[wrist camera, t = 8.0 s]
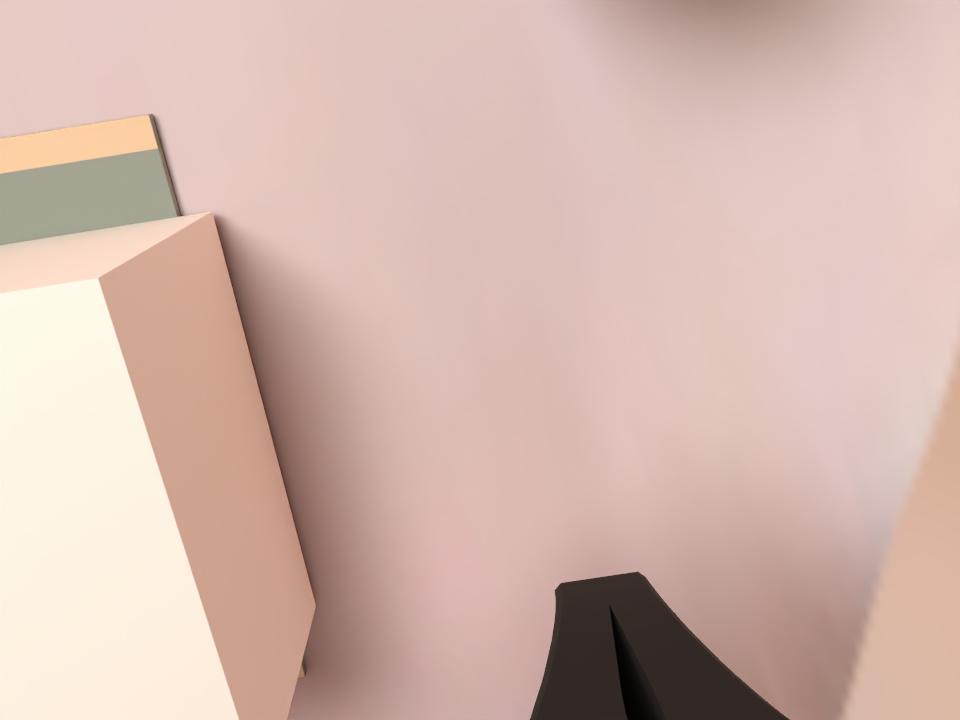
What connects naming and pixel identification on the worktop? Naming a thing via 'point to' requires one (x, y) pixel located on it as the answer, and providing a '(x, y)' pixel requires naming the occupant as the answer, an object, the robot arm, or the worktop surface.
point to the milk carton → (139, 488)
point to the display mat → (84, 182)
